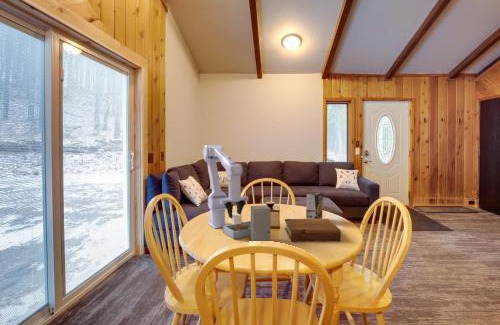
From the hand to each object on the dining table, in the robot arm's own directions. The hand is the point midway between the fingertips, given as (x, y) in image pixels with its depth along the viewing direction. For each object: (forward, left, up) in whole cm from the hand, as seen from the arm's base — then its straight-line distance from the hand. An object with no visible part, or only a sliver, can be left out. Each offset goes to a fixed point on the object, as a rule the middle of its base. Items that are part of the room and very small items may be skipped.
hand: (234, 216), depth 135 cm
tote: (-1, +6, -9) cm, 11 cm away
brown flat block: (+19, +32, -10) cm, 39 cm away
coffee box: (+4, +50, -10) cm, 51 cm away
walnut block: (-1, +4, -9) cm, 10 cm away
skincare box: (+12, +7, -10) cm, 17 cm away
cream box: (0, 0, -3) cm, 3 cm away
